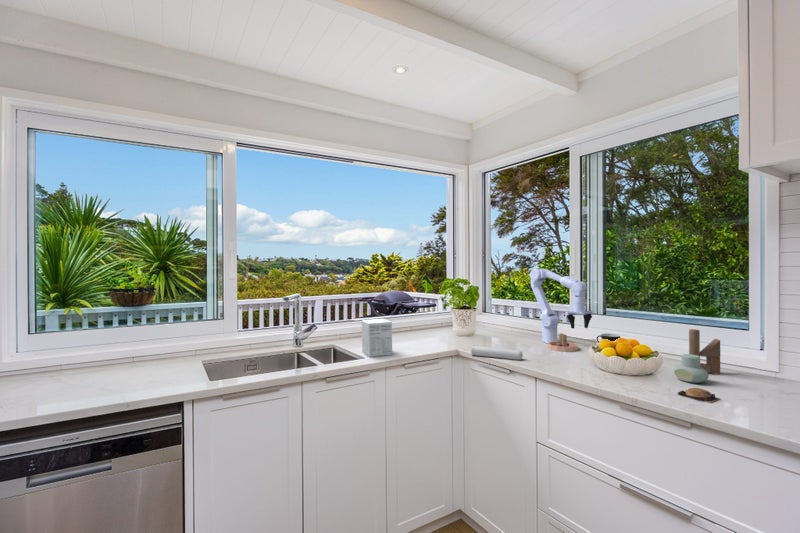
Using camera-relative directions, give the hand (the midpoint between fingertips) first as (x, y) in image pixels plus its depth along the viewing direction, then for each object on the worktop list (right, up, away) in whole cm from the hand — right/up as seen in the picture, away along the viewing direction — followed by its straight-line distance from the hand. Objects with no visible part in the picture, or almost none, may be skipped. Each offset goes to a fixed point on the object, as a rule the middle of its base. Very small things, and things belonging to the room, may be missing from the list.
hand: (579, 328), depth 217 cm
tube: (-51, -12, -21) cm, 56 cm away
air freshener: (+15, -11, -63) cm, 66 cm away
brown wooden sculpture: (+28, -11, -52) cm, 60 cm away
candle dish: (-11, -11, -4) cm, 15 cm away
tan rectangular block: (-11, -10, -4) cm, 15 cm away
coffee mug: (+7, -11, -18) cm, 22 cm away
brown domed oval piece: (+4, -12, -81) cm, 82 cm away
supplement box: (-112, -13, -8) cm, 113 cm away
